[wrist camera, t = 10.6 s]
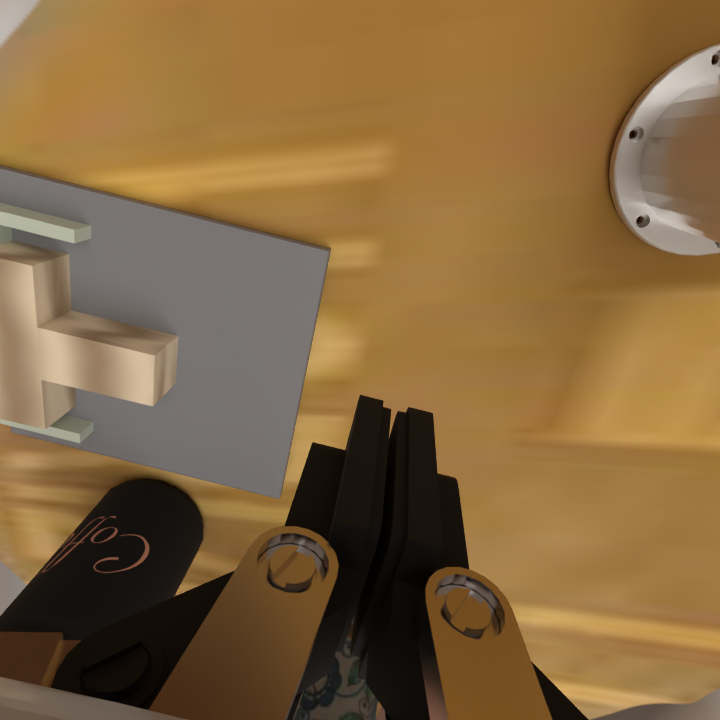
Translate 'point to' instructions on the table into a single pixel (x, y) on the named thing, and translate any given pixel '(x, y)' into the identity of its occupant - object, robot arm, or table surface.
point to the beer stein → (339, 692)
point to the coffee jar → (112, 563)
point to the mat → (181, 327)
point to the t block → (68, 344)
